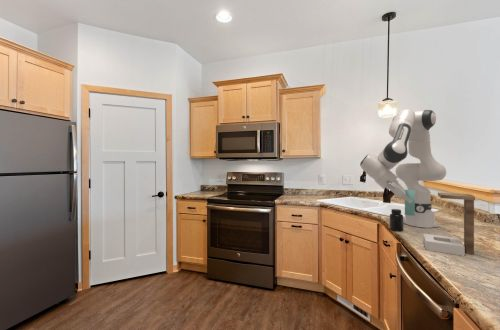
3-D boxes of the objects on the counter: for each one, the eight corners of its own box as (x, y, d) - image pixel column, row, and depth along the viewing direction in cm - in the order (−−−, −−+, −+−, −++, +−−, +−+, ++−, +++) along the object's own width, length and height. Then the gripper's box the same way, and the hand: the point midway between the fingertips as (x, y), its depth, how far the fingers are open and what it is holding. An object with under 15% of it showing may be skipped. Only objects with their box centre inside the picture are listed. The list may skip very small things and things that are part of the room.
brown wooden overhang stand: (437, 244, 110) (437, 192, 110) (469, 249, 104) (469, 194, 104) (441, 251, 102) (440, 194, 102) (475, 256, 96) (475, 196, 96)
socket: (423, 241, 115) (423, 233, 115) (458, 246, 108) (458, 238, 108) (425, 249, 104) (425, 240, 104) (464, 256, 97) (464, 246, 97)
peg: (404, 213, 115) (404, 189, 115) (414, 214, 113) (414, 190, 113) (404, 215, 112) (404, 190, 112) (414, 216, 110) (415, 190, 110)
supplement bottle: (398, 228, 138) (398, 208, 138) (406, 231, 131) (406, 210, 131) (387, 228, 138) (387, 208, 138) (394, 231, 131) (394, 210, 131)
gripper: (392, 177, 108) (418, 199, 102) (393, 176, 125) (415, 195, 119) (381, 186, 110) (406, 208, 105) (383, 183, 127) (405, 203, 122)
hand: (411, 201), depth 112 cm, fingers closed on peg, 4 cm apart
